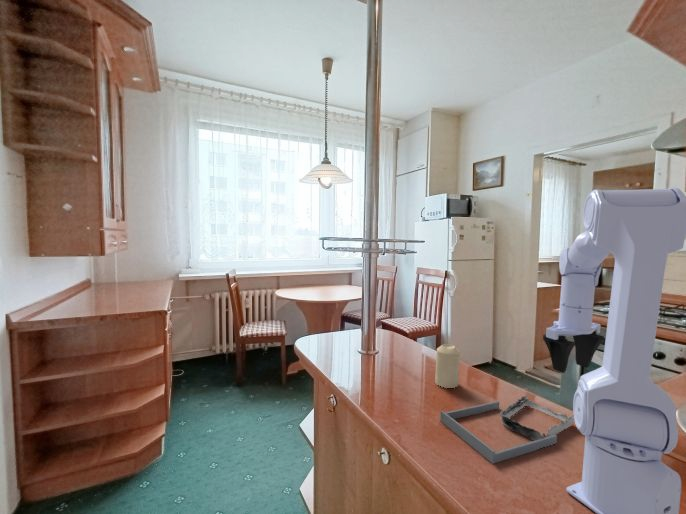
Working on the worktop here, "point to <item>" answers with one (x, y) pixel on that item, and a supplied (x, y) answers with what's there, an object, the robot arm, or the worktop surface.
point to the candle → (447, 366)
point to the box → (481, 446)
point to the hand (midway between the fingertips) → (570, 368)
